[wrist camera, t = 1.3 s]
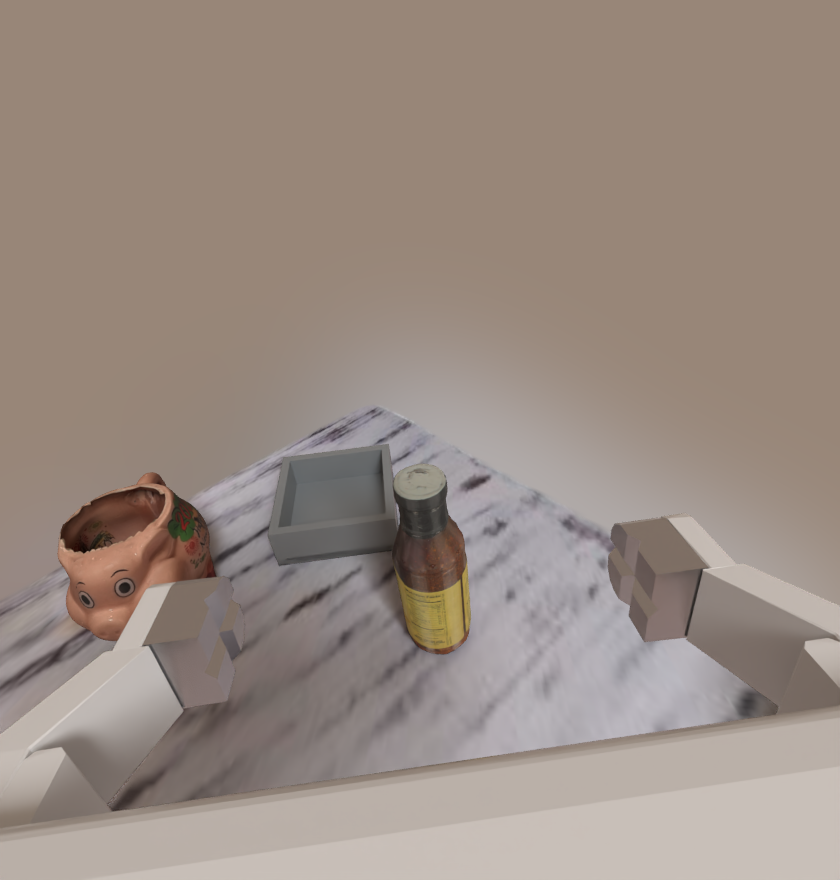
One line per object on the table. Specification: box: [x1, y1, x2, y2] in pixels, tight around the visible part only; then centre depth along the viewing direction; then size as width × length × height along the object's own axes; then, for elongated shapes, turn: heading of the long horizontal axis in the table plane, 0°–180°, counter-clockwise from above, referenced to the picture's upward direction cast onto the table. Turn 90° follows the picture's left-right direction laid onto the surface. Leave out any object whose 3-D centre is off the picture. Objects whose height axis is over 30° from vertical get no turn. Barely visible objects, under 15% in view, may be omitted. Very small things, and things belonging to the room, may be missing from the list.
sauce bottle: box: [392, 464, 471, 654], centre depth 42 cm, size 6×6×20 cm
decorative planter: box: [58, 472, 216, 641], centre depth 50 cm, size 20×12×14 cm, turn 19°
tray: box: [268, 444, 398, 566], centre depth 61 cm, size 14×14×5 cm
